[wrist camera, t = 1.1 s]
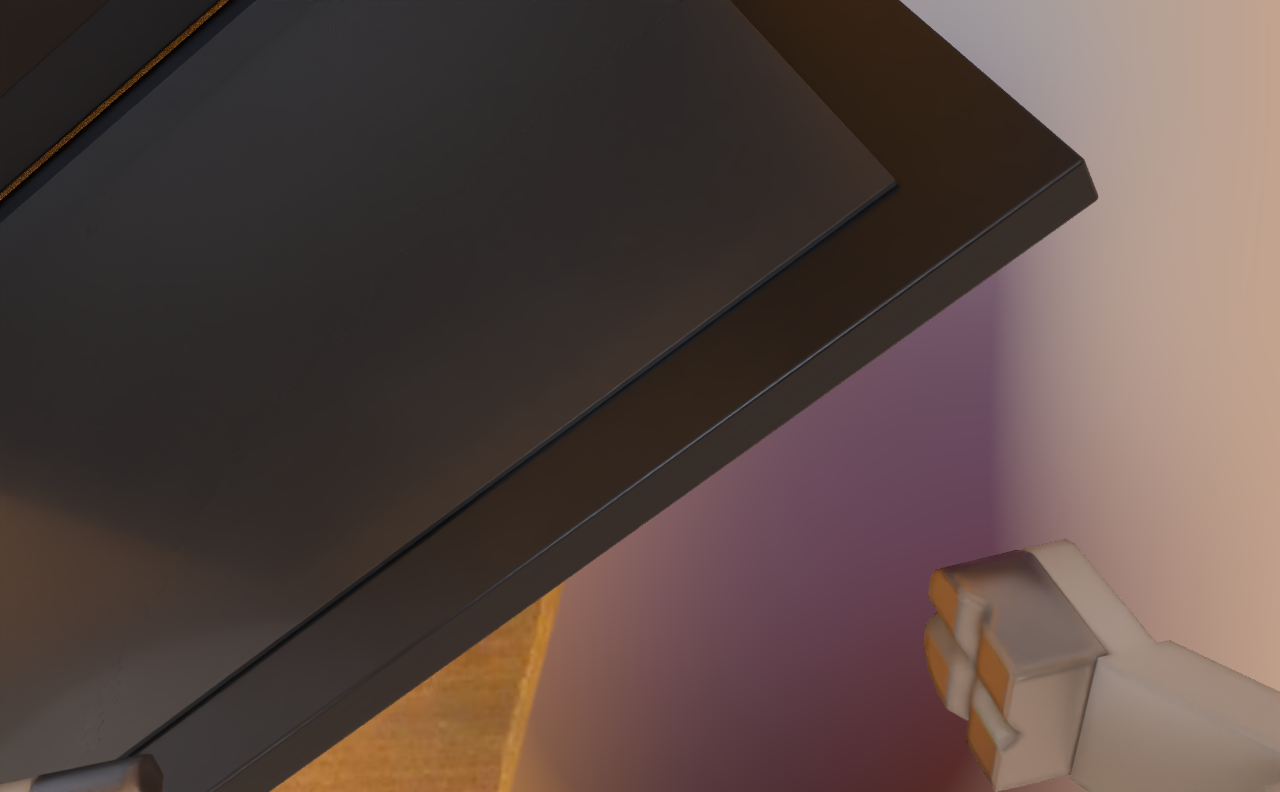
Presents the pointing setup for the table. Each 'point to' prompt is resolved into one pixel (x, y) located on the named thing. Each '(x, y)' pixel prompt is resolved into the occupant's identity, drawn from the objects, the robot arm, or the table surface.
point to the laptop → (73, 64)
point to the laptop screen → (441, 332)
